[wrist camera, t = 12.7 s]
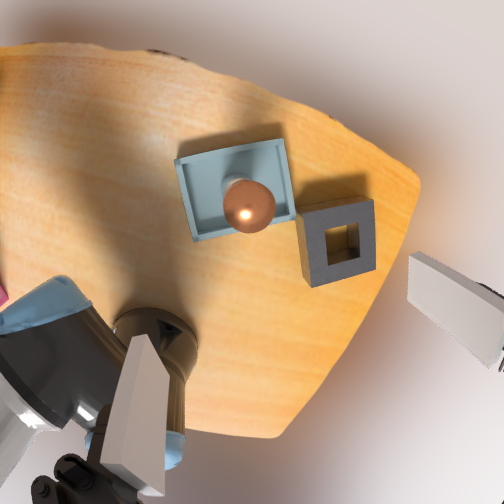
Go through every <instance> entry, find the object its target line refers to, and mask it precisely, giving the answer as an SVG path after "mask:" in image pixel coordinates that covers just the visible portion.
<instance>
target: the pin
mask: <svg viewBox="0 0 504 504" xmlns="http://www.w3.org/2000/svg"><path fill="white" fill-rule="evenodd" d="M221 193H222V196H223V211H224V215H225V218H226V220H227V222H228V223H229V224H230V225H231V226H232V227H233V228H234V229H236V230H237V231H240V232H243V233H255V232H259V231H261V230H263V229H264V228H266V227H267V226H268V225H269V224H270V223H271V221H272V220H273V218H274V216H275V212H276V201H275V198H274V196H273V194H272V192H271V191H270V190H269V189H268V188H267V187H266V186H264V185H263V184H261V183H259V182H257V181H254V180H250V179H249V178H247V177H246V176H244V175H243V174H240V173H232V174H230V175H228V176H226V177H225V178H224V180H223V181H222V184H221Z"/></svg>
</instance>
